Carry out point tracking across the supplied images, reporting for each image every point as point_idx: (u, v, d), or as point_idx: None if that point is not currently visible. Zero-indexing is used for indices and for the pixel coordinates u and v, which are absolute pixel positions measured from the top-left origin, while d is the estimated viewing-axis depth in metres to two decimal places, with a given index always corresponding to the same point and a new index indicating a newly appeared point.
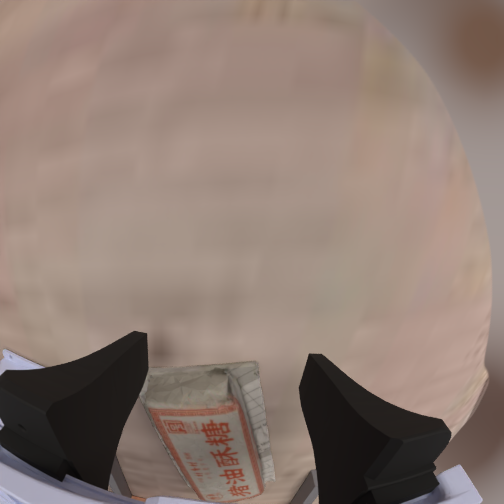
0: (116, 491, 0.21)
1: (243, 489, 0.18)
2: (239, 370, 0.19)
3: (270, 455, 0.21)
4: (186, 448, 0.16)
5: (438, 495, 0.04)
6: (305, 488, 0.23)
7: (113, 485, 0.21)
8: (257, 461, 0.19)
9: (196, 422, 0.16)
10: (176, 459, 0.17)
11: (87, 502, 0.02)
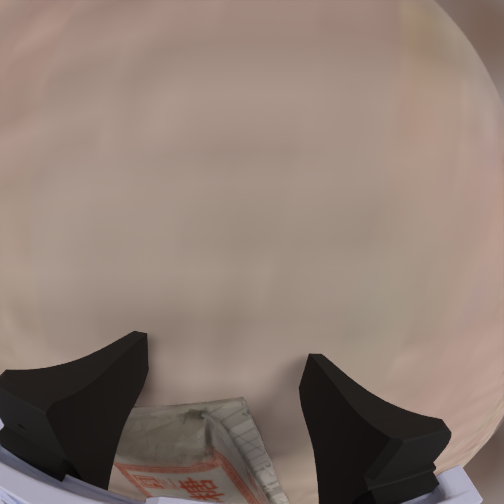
0: None
1: None
2: (222, 411, 0.13)
3: (282, 493, 0.15)
4: None
5: (438, 495, 0.04)
6: None
7: None
8: None
9: (170, 479, 0.10)
10: None
11: (87, 502, 0.02)
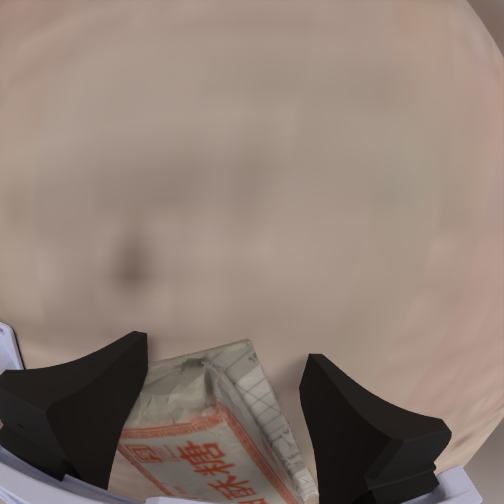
0: None
1: None
2: (224, 357, 0.12)
3: (305, 469, 0.14)
4: (174, 481, 0.10)
5: (438, 495, 0.04)
6: None
7: None
8: (285, 483, 0.12)
9: (168, 445, 0.09)
10: (168, 494, 0.10)
11: (87, 502, 0.02)
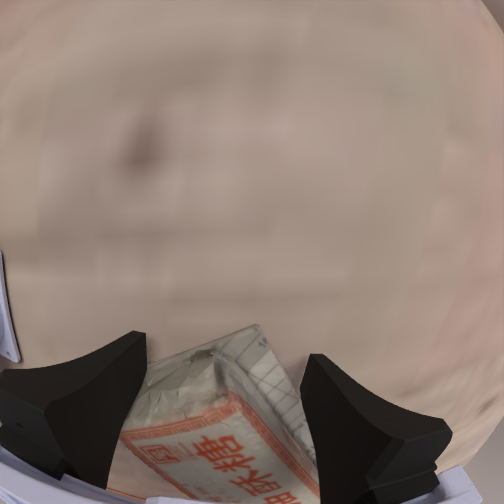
0: None
1: None
2: (234, 345, 0.12)
3: None
4: (194, 481, 0.10)
5: (438, 495, 0.04)
6: None
7: None
8: (311, 474, 0.12)
9: (182, 443, 0.09)
10: (190, 496, 0.10)
11: (87, 502, 0.02)
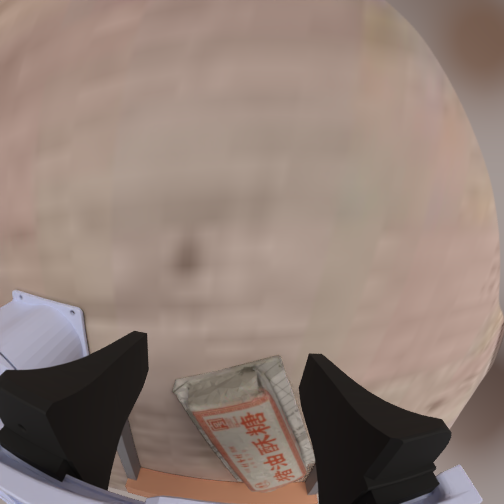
0: (124, 458, 0.22)
1: (287, 473, 0.21)
2: (265, 365, 0.21)
3: (307, 438, 0.24)
4: (231, 442, 0.19)
5: (438, 495, 0.04)
6: None
7: (121, 449, 0.22)
8: (295, 445, 0.21)
9: (235, 416, 0.19)
10: (223, 454, 0.20)
11: (87, 502, 0.02)
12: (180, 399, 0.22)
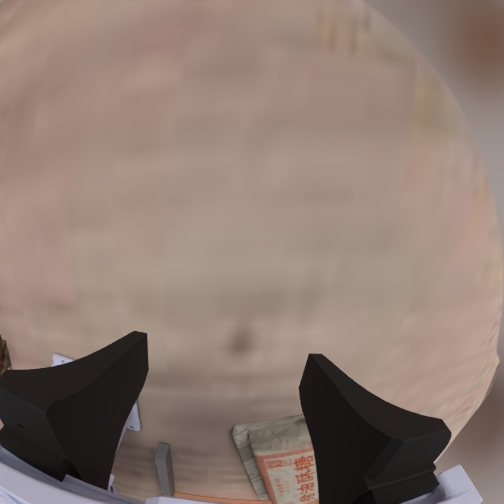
0: (165, 489, 0.24)
1: (310, 496, 0.23)
2: None
3: None
4: (278, 476, 0.21)
5: (438, 495, 0.04)
6: None
7: (164, 483, 0.23)
8: None
9: (291, 459, 0.20)
10: (267, 484, 0.21)
11: (87, 502, 0.02)
12: (236, 441, 0.23)
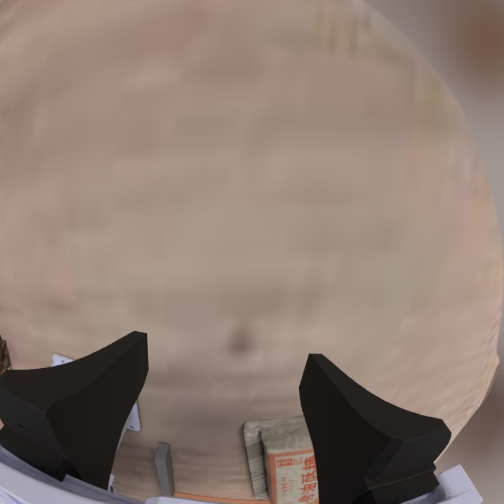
0: (165, 489, 0.24)
1: (310, 496, 0.23)
2: None
3: None
4: (285, 475, 0.21)
5: (438, 495, 0.04)
6: None
7: (164, 483, 0.23)
8: None
9: (302, 457, 0.20)
10: (272, 483, 0.21)
11: (87, 502, 0.02)
12: (246, 438, 0.23)
